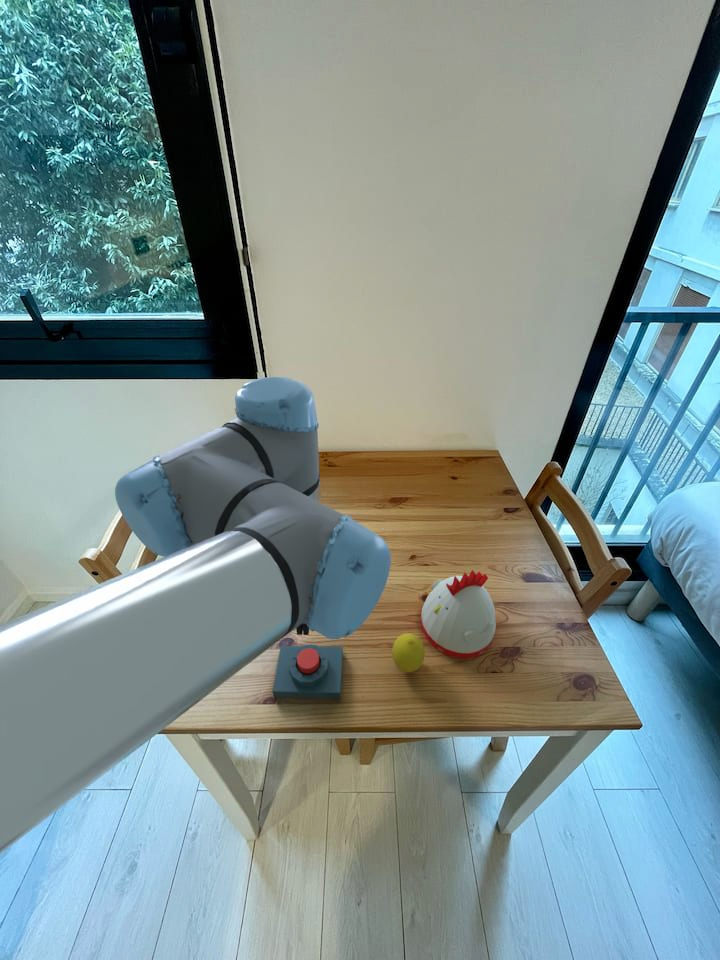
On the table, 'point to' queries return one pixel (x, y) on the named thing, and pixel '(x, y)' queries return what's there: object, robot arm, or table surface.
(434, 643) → the kitchen timer
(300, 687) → the button box
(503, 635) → the table surface
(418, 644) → the lemon
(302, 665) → the button
